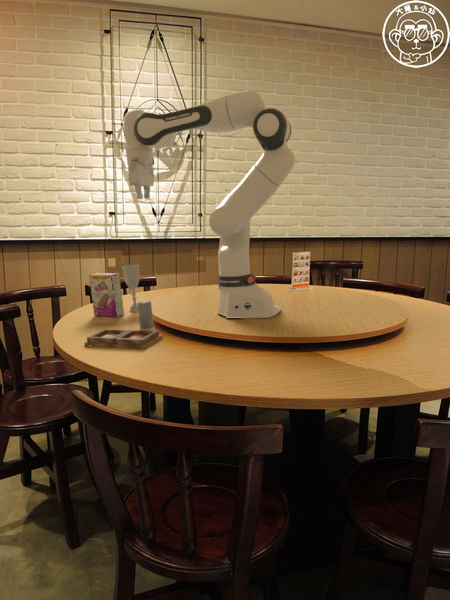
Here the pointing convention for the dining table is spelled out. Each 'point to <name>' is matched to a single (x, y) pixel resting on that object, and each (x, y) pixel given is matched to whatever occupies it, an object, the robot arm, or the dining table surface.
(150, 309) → the sleeve
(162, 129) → the robot arm
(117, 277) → the candy bar box
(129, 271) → the chalice
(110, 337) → the wooden compartment tray
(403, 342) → the dining table surface
